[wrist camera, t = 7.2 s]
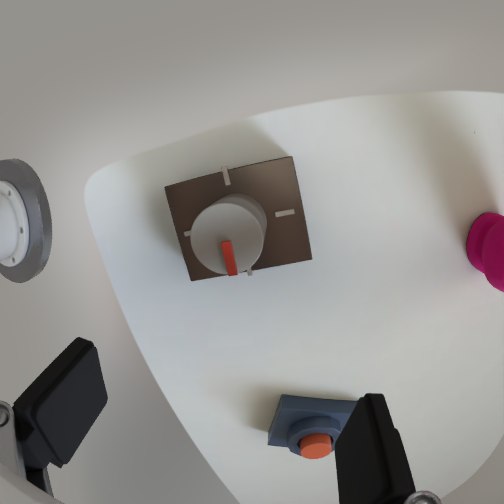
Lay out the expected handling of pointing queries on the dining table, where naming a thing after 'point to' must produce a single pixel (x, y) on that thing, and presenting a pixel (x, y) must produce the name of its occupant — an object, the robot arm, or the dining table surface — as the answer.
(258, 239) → the dial knob
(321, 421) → the button box
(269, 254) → the dial panel
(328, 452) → the button
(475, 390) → the dining table surface
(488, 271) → the pepper mill
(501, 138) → the dining table surface
